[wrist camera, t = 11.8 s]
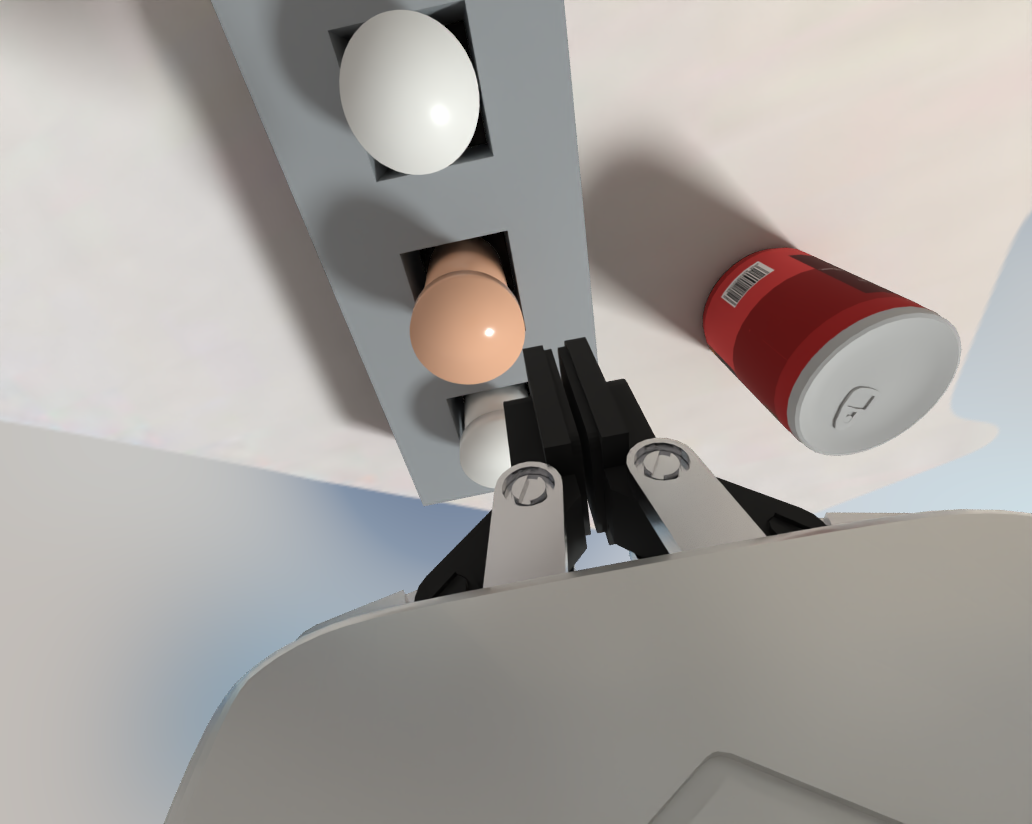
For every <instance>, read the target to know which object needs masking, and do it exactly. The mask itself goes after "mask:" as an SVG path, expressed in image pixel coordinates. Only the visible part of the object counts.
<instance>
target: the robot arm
mask: <svg viewBox="0 0 1032 824" xmlns="http://www.w3.org/2000/svg"><path fill="white" fill-rule="evenodd" d="M522 350H523V356H524V362H525V367H526V373H527V379H528V384H529V390H530V395H531V396H530V397H525V398H520V399H514V400H509V401H504V402H503V406H504V414H505V422H506V430H507V438H508V446H509V454H510V462H511V467H510V468H509V469H508V470H506V471H505V472H504V473H502V475H501V476H500V477H499V479H498V480H497V483H496V486H495V490H494V499H493V507H492V510H491V511H490V512H489V513H488V514H487V515H486V516H485V517H484V518H483V519H482V521H480V523H478V525H476V527H475V528H474V529H473V530H472V531H471V532H470V533H469V534H468V535H467V536H466V537H465V538H464V539H463V540H462V541H461V542H460V543H459V544H458V545H457V546H456V547H455V548H454V549H453V550H452V551H451V552H450V553H449V554H448V555H447V556H446V557H445V558H444V559H443V560H442V561H441V562H440V563H439V564H438V565H437V566H436V567H435V568H434V569H433V571H431V572H430V573H429V574H428V575H427V576H426V578H425V579H424V580H423V582H422V583H421V584H420V585H419V587H418V590H416V591H413V592H411V593H408V594H405V592H404V590H402V591H399V592H397V593H394V594H392V595H389V596H387V597H384V598H382V599H379V600H377V601H374V602H372V603H369V604H367V605H364V606H362V607H359V608H357V609H354V610H352V611H349V612H347V613H344V614H342V615H339V616H337V617H335V618H332V619H330V620H327V621H325V622H322V623H320V624H317V625H315V626H313V627H312V628H310V629H308V630H306V631H305V632H304V633H303V634H302V635H301V636H299V638H298V639H296V640H295V641H294V642H292V643H290V644H288V645H286V646H285V647H283V648H281V649H279V650H277V651H276V652H274V653H273V654H271V655H270V656H268V657H267V658H265V659H264V660H262V661H261V662H260V663H258V664H257V665H256V666H255V667H253V668H252V669H251V670H249V671H248V672H247V673H246V674H245V675H244V676H243V677H242V678H241V679H240V680H239V681H238V682H237V683H236V684H235V685H234V686H233V687H232V688H231V690H230V691H229V692H228V694H227V695H226V696H225V697H224V699H223V700H222V702H221V703H220V705H219V706H218V708H217V710H216V711H215V713H214V715H213V716H212V718H211V720H210V722H209V723H208V725H207V727H206V729H205V731H204V733H203V735H202V737H201V739H200V741H199V744H198V746H197V748H196V750H195V752H194V754H193V756H192V758H191V760H190V762H189V765H188V767H187V769H186V771H185V774H184V776H183V778H182V781H181V783H180V785H179V788H178V790H177V792H176V794H175V797H174V799H173V802H172V804H171V807H170V809H169V812H168V815H167V817H166V819H165V822H164V824H1032V513H1024V512H1014V511H1005V510H973V509H972V510H971V509H958V510H942V511H927V512H920V513H826V515H825V517H824V518H818V517H816V516H815V515H814V514H812V513H810V512H808V511H806V510H804V509H802V508H799V507H797V506H794V505H791V504H788V503H786V502H783V501H780V500H777V499H775V498H772V497H769V496H767V495H764V494H761V493H758V492H756V491H753V490H750V489H747V488H745V487H742V486H739V485H736V484H734V483H731V482H728V481H726V480H723V479H720V478H717V477H715V476H714V474H713V473H712V472H711V471H710V470H709V469H708V467H707V466H706V465H705V464H704V463H703V462H702V460H701V459H700V458H699V457H698V456H697V455H696V453H695V452H694V451H693V450H692V449H691V448H689V447H688V446H687V445H685V444H683V443H681V442H679V441H677V440H673V439H668V438H656V437H655V435H654V434H653V432H652V430H651V428H650V426H649V424H648V422H647V420H646V418H645V416H644V414H643V412H642V410H641V408H640V407H639V405H638V403H637V401H636V399H635V397H634V395H633V393H632V391H631V389H630V387H629V385H628V383H627V382H626V380H625V379H619V380H614V381H609V382H606V381H605V379H604V377H603V374H602V372H601V370H600V368H599V366H598V363H597V361H596V359H595V357H594V354H593V352H592V350H591V348H590V346H589V343H588V341H587V339H586V337H581V338H576V339H571V340H566V341H564V346H563V347H558V358H559V366H560V374H561V377H560V374H559V371H558V368H557V365H556V361H555V358H554V355H553V352H552V349H548V350H544V348H543V345H540V346H535V347H530V348H524V349H522ZM587 500H588V503H589V507H590V510H591V514H592V517H593V521H594V524H595V528H596V531H597V533H602V532H605V533H606V536H607V539H608V543H609V545H613V544H617V545H619V546H621V547H623V548H625V549H627V550H629V556H630V559H631V561H627V562H622V563H616V564H611V565H605V566H600V567H595V568H589V569H584V570H578V571H575V563H576V562H577V561H578V559H579V558H580V557H581V555H582V554H583V553H584V552H585V550H586V549H587V544H586V536H585V535H590V534H591V531H590V521H589V512H588V503H587Z"/></svg>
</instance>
